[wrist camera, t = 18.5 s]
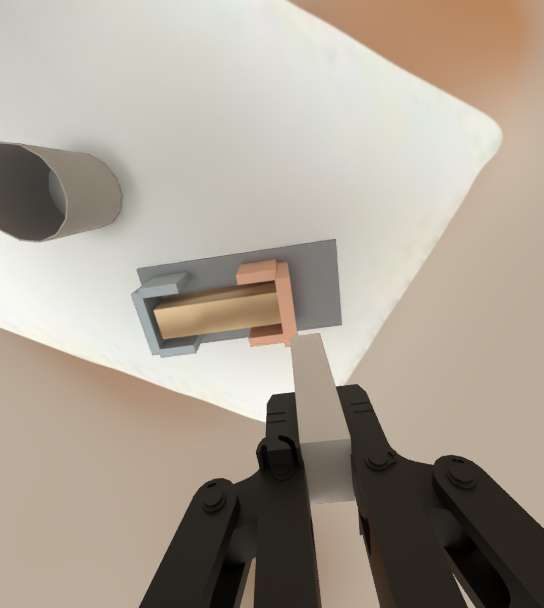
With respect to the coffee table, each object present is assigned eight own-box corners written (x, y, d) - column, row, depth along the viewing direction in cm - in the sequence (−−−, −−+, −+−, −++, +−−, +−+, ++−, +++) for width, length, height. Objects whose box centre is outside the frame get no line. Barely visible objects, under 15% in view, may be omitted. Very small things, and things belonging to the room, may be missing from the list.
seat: (137, 268, 39) (117, 281, 34) (335, 239, 37) (344, 247, 32) (163, 347, 43) (149, 367, 38) (341, 324, 41) (349, 342, 36)
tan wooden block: (167, 295, 40) (153, 310, 35) (277, 279, 39) (277, 292, 34) (175, 321, 41) (163, 339, 37) (281, 307, 40) (282, 323, 35)
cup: (136, 202, 36) (87, 209, 26) (89, 240, 37) (28, 259, 28) (83, 137, 33) (8, 118, 24) (36, 181, 35) (-51, 180, 26)
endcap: (240, 264, 38) (233, 280, 31) (286, 257, 37) (289, 272, 31) (253, 328, 41) (249, 355, 35) (295, 323, 41) (299, 349, 34)
